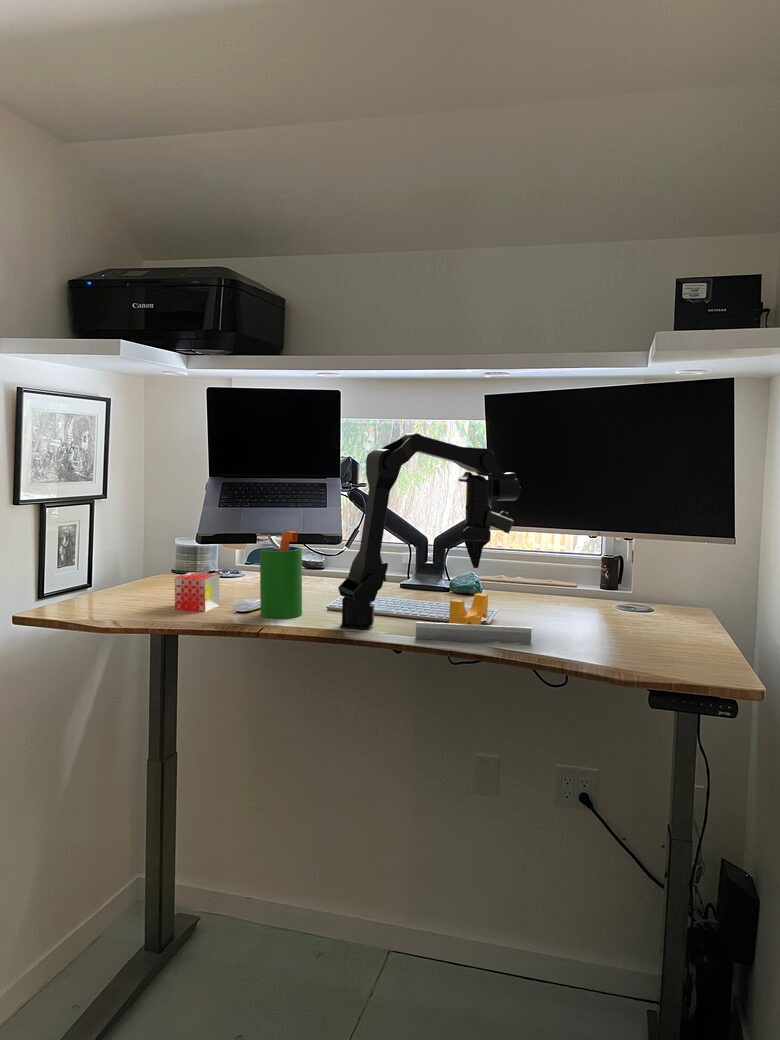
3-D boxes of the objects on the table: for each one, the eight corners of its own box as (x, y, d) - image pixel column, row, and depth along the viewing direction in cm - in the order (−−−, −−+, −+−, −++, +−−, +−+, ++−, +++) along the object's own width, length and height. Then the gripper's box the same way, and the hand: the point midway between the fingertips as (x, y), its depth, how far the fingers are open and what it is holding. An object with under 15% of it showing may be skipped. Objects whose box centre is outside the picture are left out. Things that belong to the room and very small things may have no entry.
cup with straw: (276, 608, 194) (277, 527, 192) (309, 612, 191) (310, 529, 189) (255, 616, 185) (255, 531, 183) (289, 620, 182) (290, 533, 180)
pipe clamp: (465, 632, 175) (466, 603, 175) (448, 628, 178) (449, 600, 177) (493, 623, 185) (494, 595, 184) (477, 620, 187) (478, 593, 187)
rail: (415, 638, 167) (416, 622, 167) (416, 636, 169) (416, 620, 169) (530, 644, 165) (531, 628, 164) (530, 642, 167) (531, 626, 166)
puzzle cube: (205, 612, 189) (205, 579, 188) (174, 610, 190) (174, 577, 190) (219, 605, 196) (219, 574, 196) (190, 603, 198) (190, 572, 197)
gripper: (513, 505, 179) (511, 573, 180) (511, 499, 197) (508, 561, 199) (464, 503, 180) (461, 571, 182) (466, 498, 199) (464, 559, 200)
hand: (475, 565), depth 190 cm, fingers open, 6 cm apart
